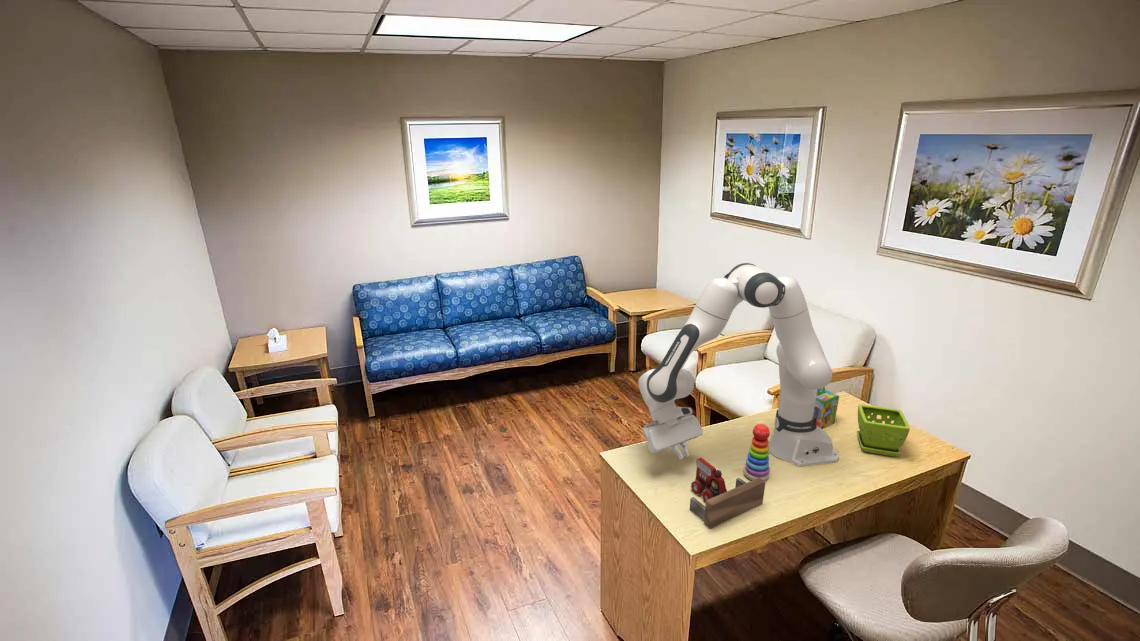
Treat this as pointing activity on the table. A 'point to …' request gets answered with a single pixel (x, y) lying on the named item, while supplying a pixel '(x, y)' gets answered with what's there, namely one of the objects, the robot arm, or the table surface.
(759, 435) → the stacking toy
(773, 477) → the table surface
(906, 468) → the table surface
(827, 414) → the chalk box
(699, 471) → the toy fire truck
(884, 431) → the flower pot
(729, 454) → the table surface
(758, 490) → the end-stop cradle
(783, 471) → the table surface
